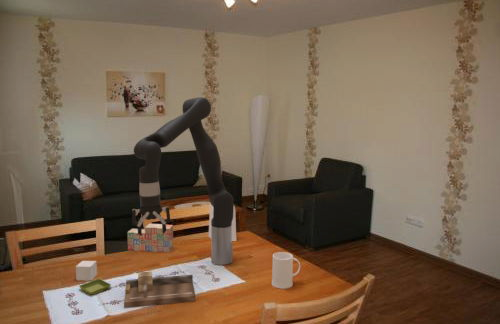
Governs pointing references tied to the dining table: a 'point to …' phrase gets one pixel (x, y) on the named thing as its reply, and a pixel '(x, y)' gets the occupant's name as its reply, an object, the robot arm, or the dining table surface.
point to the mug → (283, 270)
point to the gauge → (145, 282)
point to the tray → (160, 291)
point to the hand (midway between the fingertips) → (152, 234)
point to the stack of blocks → (151, 239)
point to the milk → (232, 223)
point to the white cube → (86, 270)
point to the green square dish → (95, 286)
